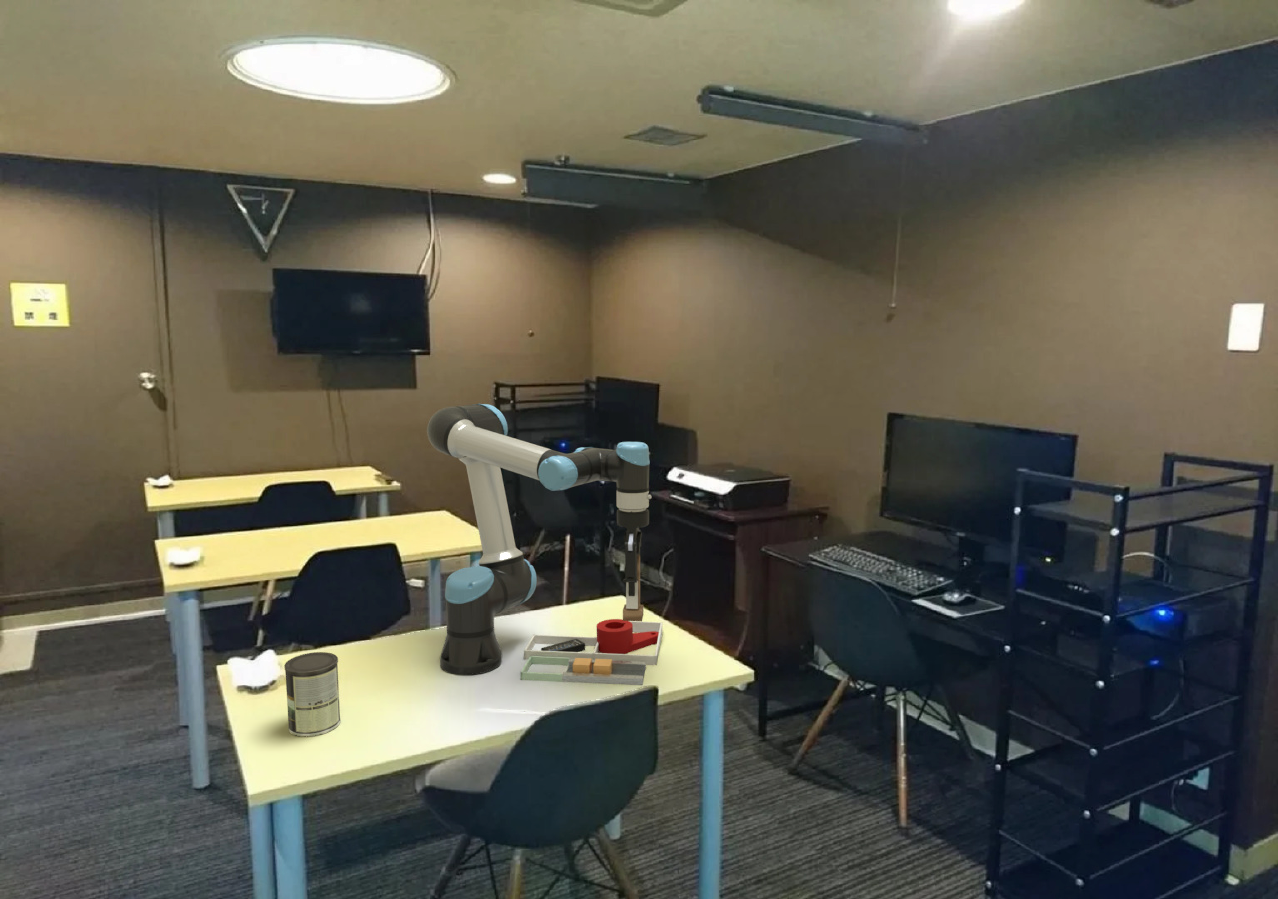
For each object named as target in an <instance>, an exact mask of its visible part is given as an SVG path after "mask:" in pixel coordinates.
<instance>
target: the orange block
mask: <svg viewBox="0 0 1278 899" xmlns="http://www.w3.org/2000/svg"><path fill="white" fill-rule="evenodd" d="M611 673H612V659H596V660H595V663H594V665H593V674H611Z"/></svg>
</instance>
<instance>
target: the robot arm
mask: <svg viewBox="0 0 1278 899" xmlns="http://www.w3.org/2000/svg"><path fill="white" fill-rule="evenodd" d="M508 432H509V428H508V422H507V420H506V418H505V416H504V414H503V413H502V412H501V411H500V410H499V409H498V408H497V407H496V406H494V405H492V404H487V403H484V404H482V403H474V404H466V405H459V406H446V407H444V408H442V409H439V410H437V411H436V412H435V413H434V414H433V415H432V416H431V417H430V419H429V421H428V424H427V428H426V433H427V434H426V435H427V438H428V441H429V443H430V444H431V446H432V447H433V448H434V449H435V450H437V451H438V452H440V453H442V454H444V455H447V456H450V457H453V458H458V460H459V461H460V462H462V463H463V464H464V465H465V467H466V472H467V476H468V483H469V488H470V494H471V497H472V503H473V508H474V513H475V519H476V522H477V523H476V524H477V529H478V535H479V539H480V544H481V551H482V556H481V557H480V559H479V561H478V565H474V566H470V567H463V568H460V569H458V570H456V571H453V572H452V573H450V575H449V576H448V577H447V579H446V581H445V589H444V590H445V591H444V597H445V617H446V618H445V619H446V622H445V624H446V636H445V640H444V643H443V646H442V648H441V652H440V658H439V659H440V660H439V663H440V664H439V666H440V669H441V670H443V671H444V672H447V673H449V674H452V675H460V676H462V675H463V676H469V675H471V676H472V675H473V676H474V675H478V674H484V673H487V672H489V671H493V670H494V669H496V668H498V667H499V666H500V665H501V664H502V662H503V659H502V658H503V657H502V656H503V655H502V654H503V653H502V650H501V647H500V643H499V641H498V639H497V636H496V632H495V615H498V614H500V613H503V612H504V611H507V610H509V609H512V608H516V607H519V605H522V604H523V603H525V602H526V601H528V600H529V599H530V598H531V597H532V596H533V594H534V593H535V591H536V588H537V581H538V580H537V572H536V570H535V568H534V566H533V565H532V564H531V562H530V561H528V560H527V559H526V558H525V557H524V553H523V551H521V550H520V549H518V548H517V546H516V541H515V538H514V536H515V535H514V531H513V526H512V520H511V516H510V512H509V511H510V510H509V506H508V501H507V495H506V490H505V486H504V480H503V475H502V474H503V473H502V470H501V469H503V470H506V471H509V472H513V473H515V474H519V475H522V476H524V477H529V478H531V479H534V480H537V481H539V482H540V483H541V484H542V485H543V487H545V489H548V490H550V491H552V492H553V491H565V490H568V489H570V488H573V487H577V486H580V485H585V484H588V483H593V482H596V481H605V482H606V481H607V482H613V483H616V507H617V508H618V509H617V510H616V523H617V524H616V525H617V526H619V527H621V528H626V531H624V533H623V542H624V543H623V544H624V553H625V554H624V557H625V558H624V559H625V562H624V563H625V569H624V570H625V572H624V573H625V575H624V576H625V578H624V579H623V580H622V582H623V583H625V596H626V597H625V600H626V601H625V604H626V609H638V579H637V555H640V556H641V547H642V539H643V538H642V537H643V531H641V529H640V528H645V527H647V526H648V525H649V524H650V510H649V509H648V508H649V506H650V503H649V502H650V500H651V499H652V495H651V494H649V492H650V485H649V482H650V461H651V460H650V453H649V452H650V451H649V446H648V444H646V443H645V442H641V441H622V442H618V443H617V445H616V449H608V448H598V447H593V446H589V447H582V446H581V447H578V448H576V449H575V451H573V452H571V453H564V452H560V451H558V450H557V451H556V450H555V449H554V450H553V449H550V448H548V447H545V446H542V445H541V446H540V445H538V444H534V443H530V442H528V441H525V440H521V439H518V438H514V437H511V436H508ZM642 576H643V572H642V571H640V577H642Z"/></svg>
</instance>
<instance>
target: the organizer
mask: <svg viewBox="0 0 1278 899" xmlns="http://www.w3.org/2000/svg"><path fill="white" fill-rule="evenodd" d="M629 622H631V623H632V624H633V633H640V632H651V631H656V632H659V635H658V641H657V644H656V647H655V653H654V655H652V654H629V653H627V654H609V653H601V652H599V643H598V642H597V636H575V635H573V636H571V635H551V634H549V635H548V634H547V635H546V634H533V635H532V637H531V638H530V639H529V642H528V643H527V645H526V647H525V648H524V650H523V660H528V659H529V657H530V656H540V657H564V658H570V659H575V658H590V659H592V660H596V659H612V660H616V661H639V662H646V666H647V665H648V666H649V665H650V666H657V664H658V658H659V653H660V647H661V643H662V638H663V637H662V636H663V622H662V621H661V622H659V621H629ZM574 639H578V640H580V641H581V642H583V643H585V647H586V646H587V647H594V649H593V652H586V651H585V652H584V651H580V652H561V651H541V650H536V649H535V650H533V648H534V646H535V645H555V644H558V643H562V642H566V641H570V640H574Z"/></svg>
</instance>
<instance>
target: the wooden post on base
mask: <svg viewBox="0 0 1278 899" xmlns="http://www.w3.org/2000/svg"><path fill="white" fill-rule="evenodd" d="M640 572H641V554H640V555H637V579H638V609H626V603H625V604H624V605H623V609H622V620H623V621H640V622H643V619H644V604H641V576H640Z"/></svg>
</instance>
